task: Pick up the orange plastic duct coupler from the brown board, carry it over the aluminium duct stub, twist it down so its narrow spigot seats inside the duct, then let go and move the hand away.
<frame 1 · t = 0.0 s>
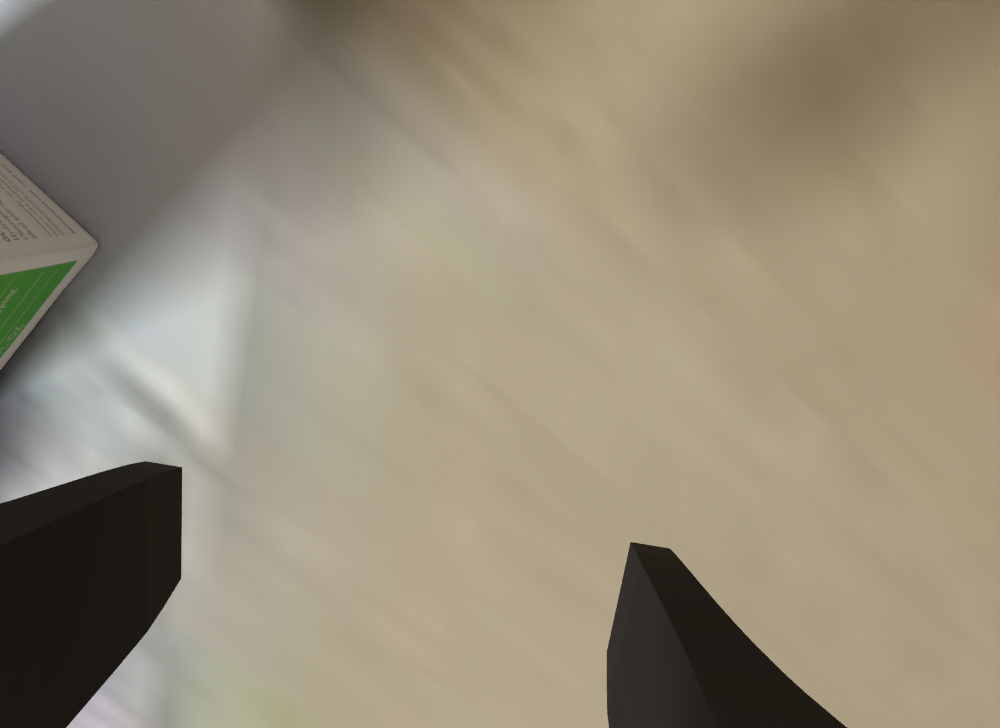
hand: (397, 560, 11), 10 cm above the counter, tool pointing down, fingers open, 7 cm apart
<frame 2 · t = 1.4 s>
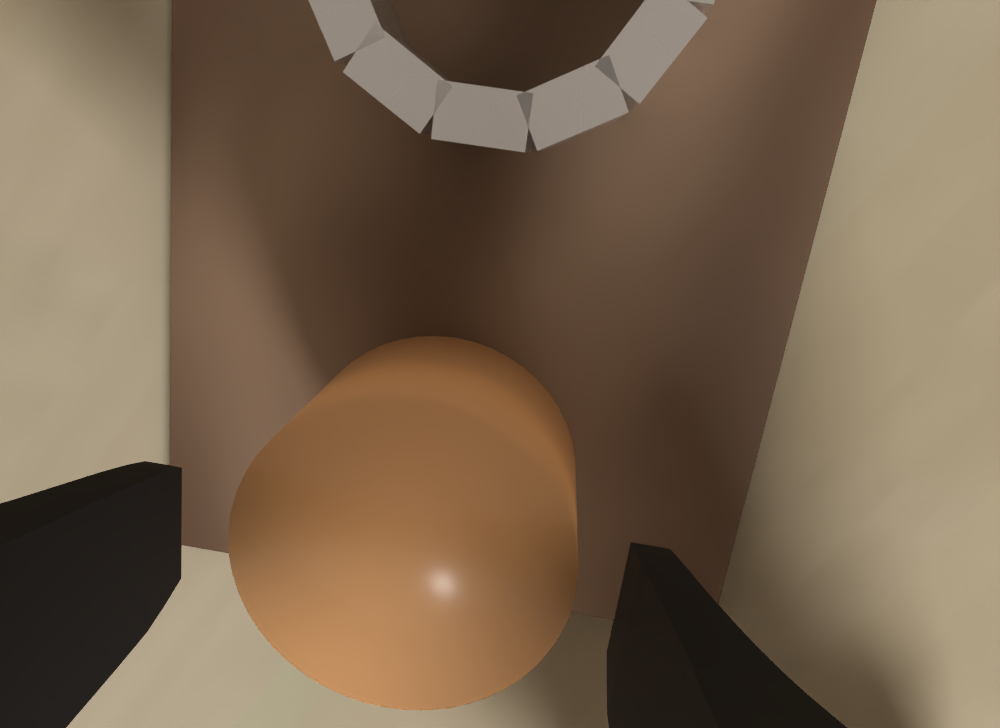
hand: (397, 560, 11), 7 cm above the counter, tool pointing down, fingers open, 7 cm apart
brown board: (489, 188, 16), on the counter
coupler: (455, 425, 17), point 1 cm above the counter, touching brown board
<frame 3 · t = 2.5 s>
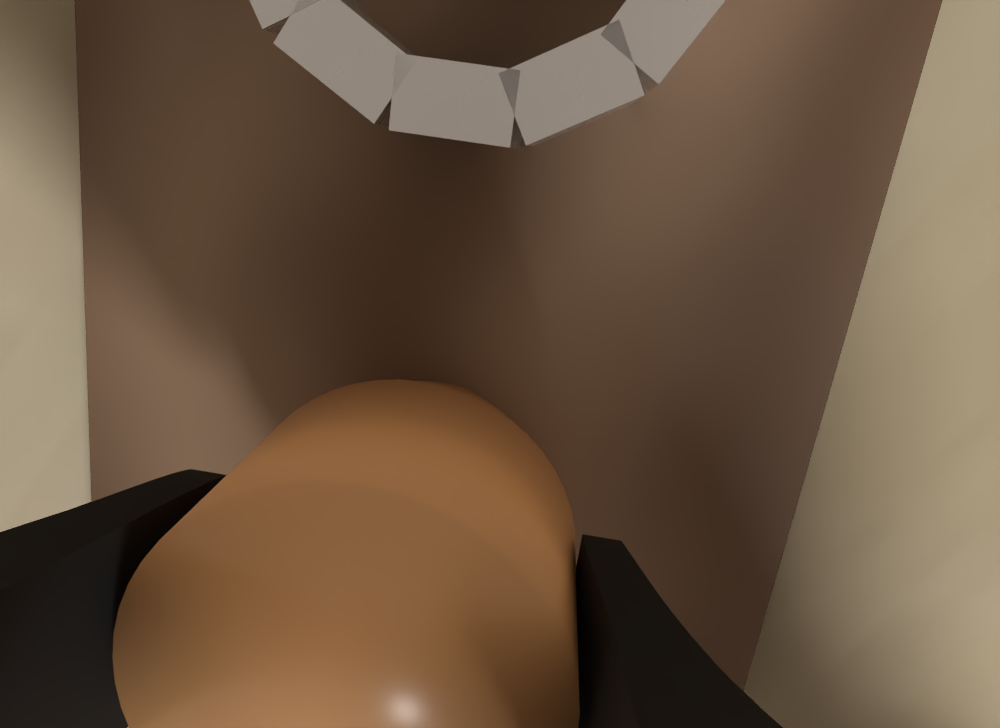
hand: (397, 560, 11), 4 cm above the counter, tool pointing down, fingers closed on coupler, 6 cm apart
brown board: (470, 191, 13), on the counter
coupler: (431, 477, 14), point 1 cm above the counter, touching gripper, brown board
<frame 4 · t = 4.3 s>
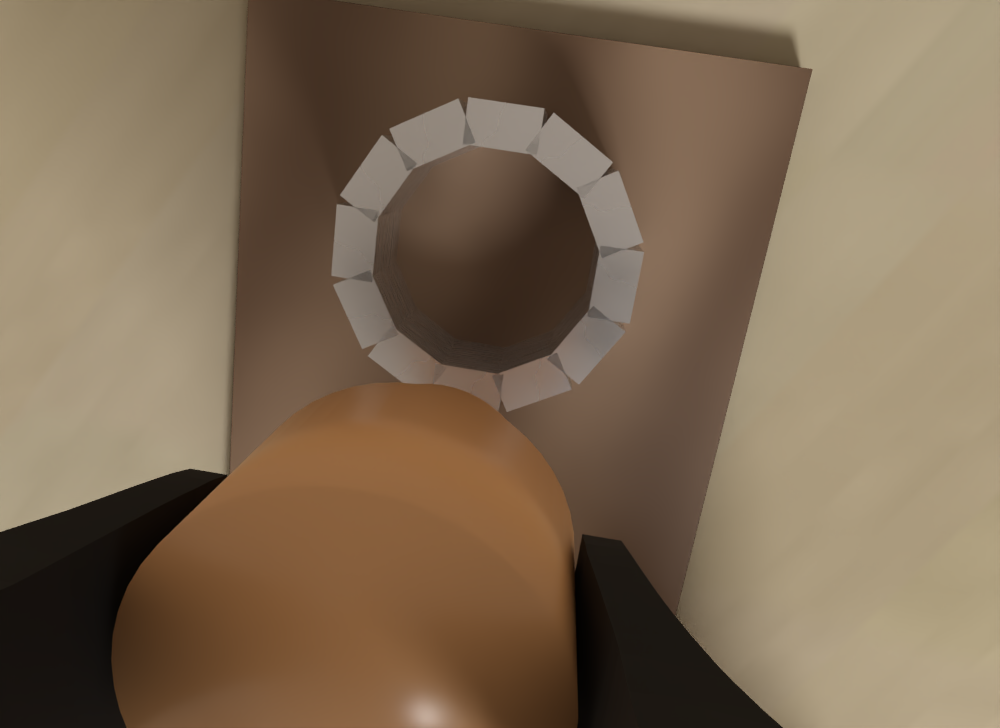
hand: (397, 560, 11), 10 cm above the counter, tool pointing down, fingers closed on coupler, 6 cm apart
duct stub: (494, 250, 19), resting on brown board
brown board: (475, 398, 21), on the counter
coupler: (430, 480, 14), point 7 cm above the counter, touching gripper
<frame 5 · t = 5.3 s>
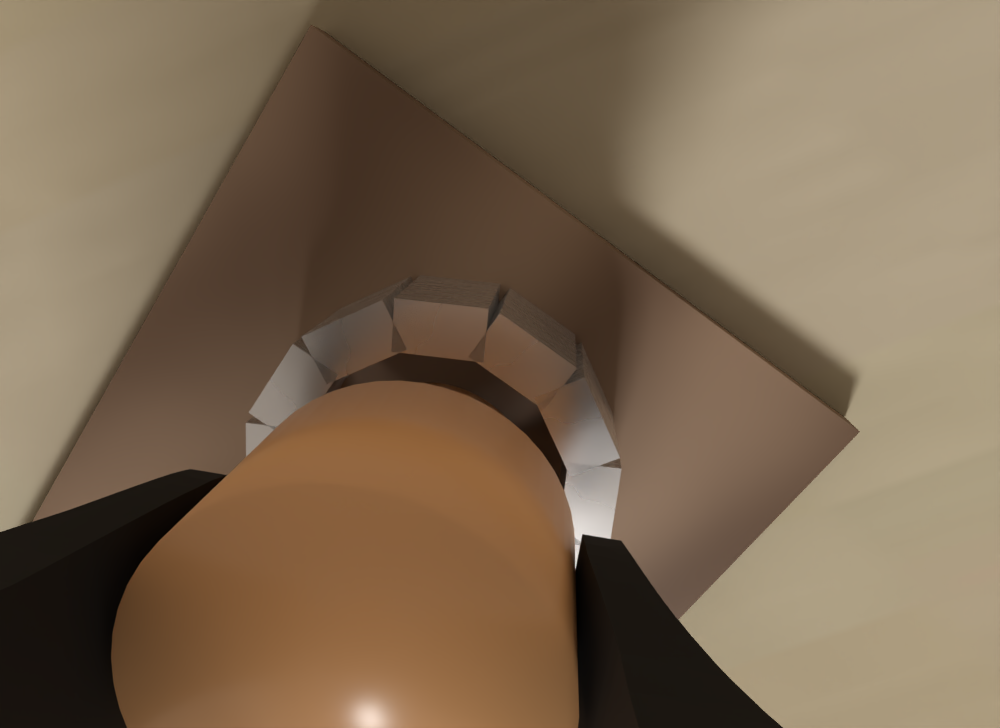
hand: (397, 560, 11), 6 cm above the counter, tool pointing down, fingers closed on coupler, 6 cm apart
duct stub: (448, 436, 16), resting on brown board
brown board: (353, 556, 18), on the counter
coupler: (430, 478, 14), point 3 cm above the counter, touching gripper
when the fingers open (5 cm above the counter, at t = 6.2 s): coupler stays where it is, resting on duct stub.
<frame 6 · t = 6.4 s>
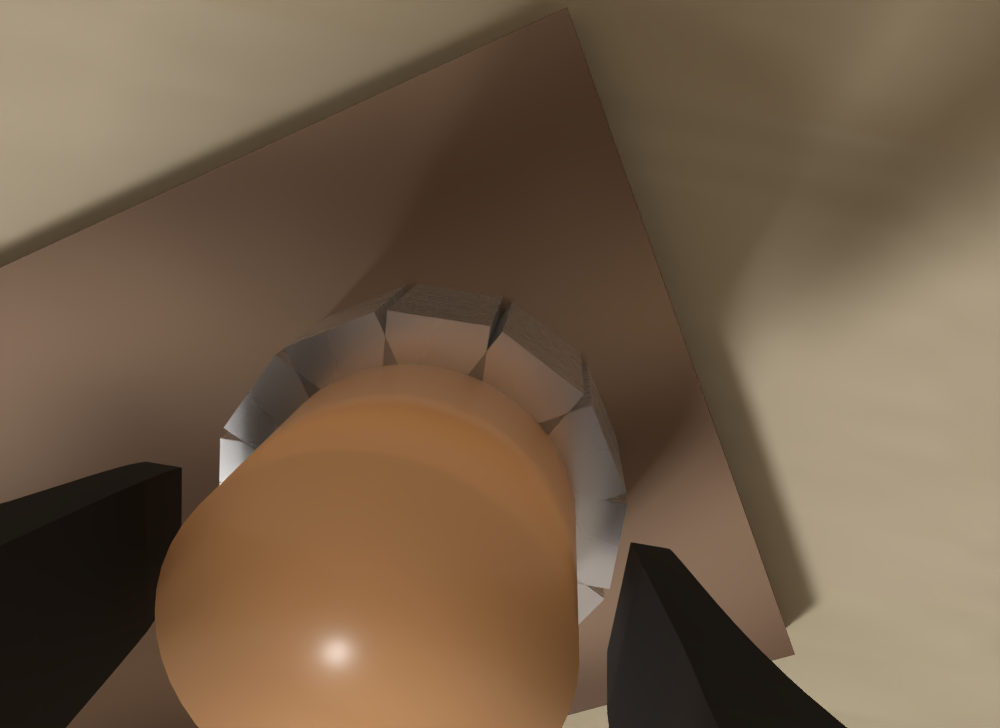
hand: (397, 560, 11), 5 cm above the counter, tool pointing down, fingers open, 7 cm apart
duct stub: (439, 456, 15), resting on brown board
brown board: (269, 504, 17), on the counter
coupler: (439, 459, 15), point 1 cm above the counter, touching duct stub
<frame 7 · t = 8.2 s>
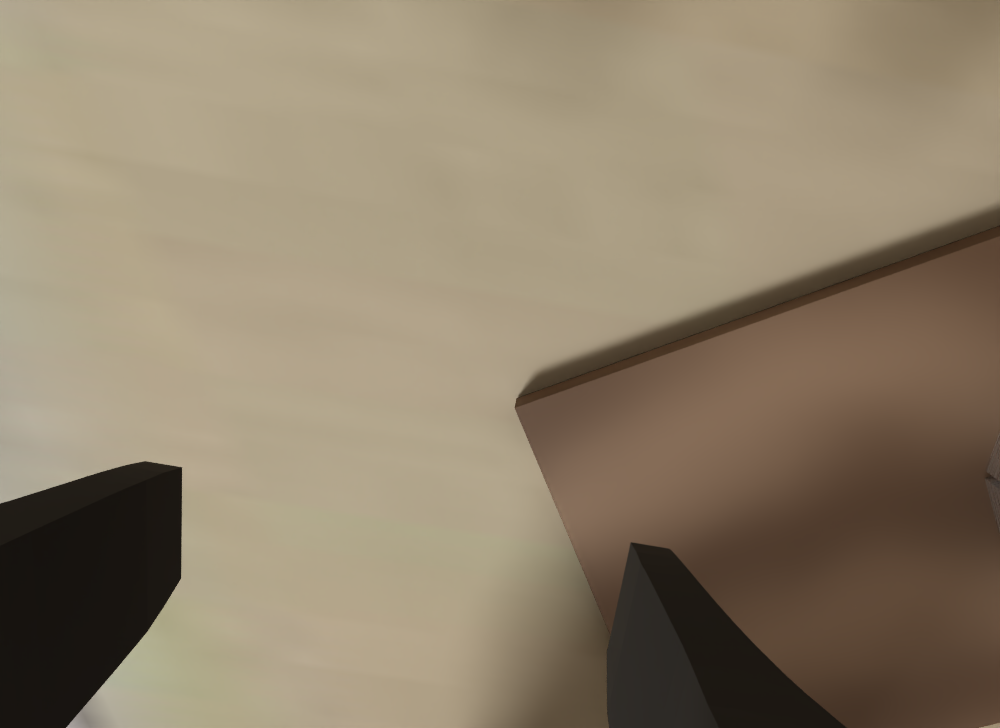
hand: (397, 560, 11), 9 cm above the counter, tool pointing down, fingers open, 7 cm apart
brown board: (941, 501, 20), on the counter
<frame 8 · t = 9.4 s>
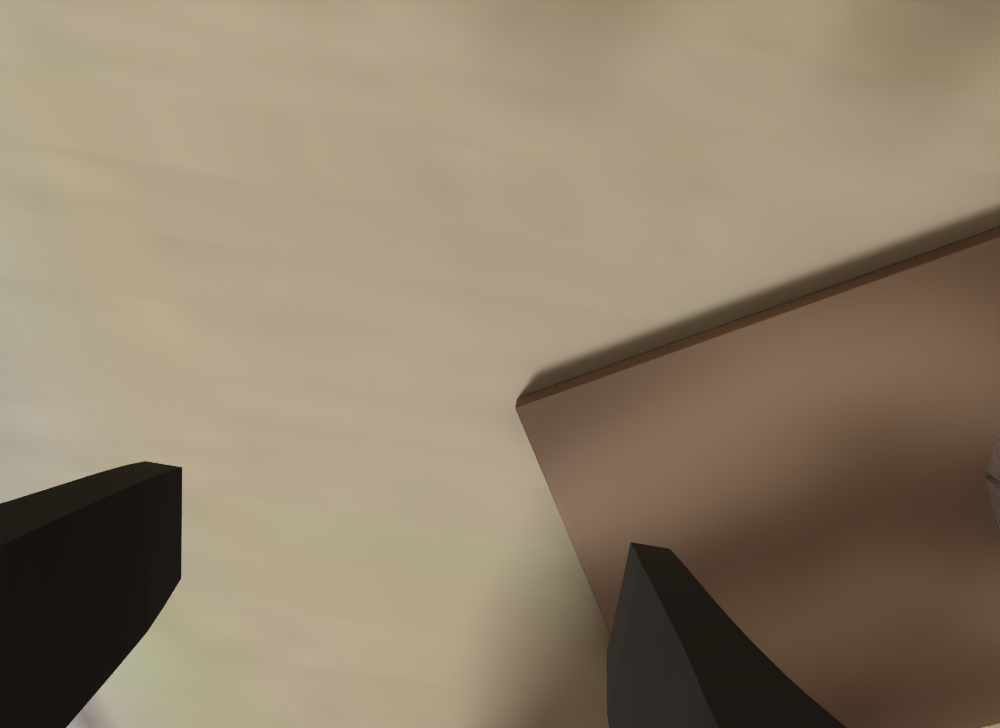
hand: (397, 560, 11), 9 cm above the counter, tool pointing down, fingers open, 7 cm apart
brown board: (942, 502, 20), on the counter
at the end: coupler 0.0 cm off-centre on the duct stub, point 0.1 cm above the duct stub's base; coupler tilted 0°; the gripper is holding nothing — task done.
